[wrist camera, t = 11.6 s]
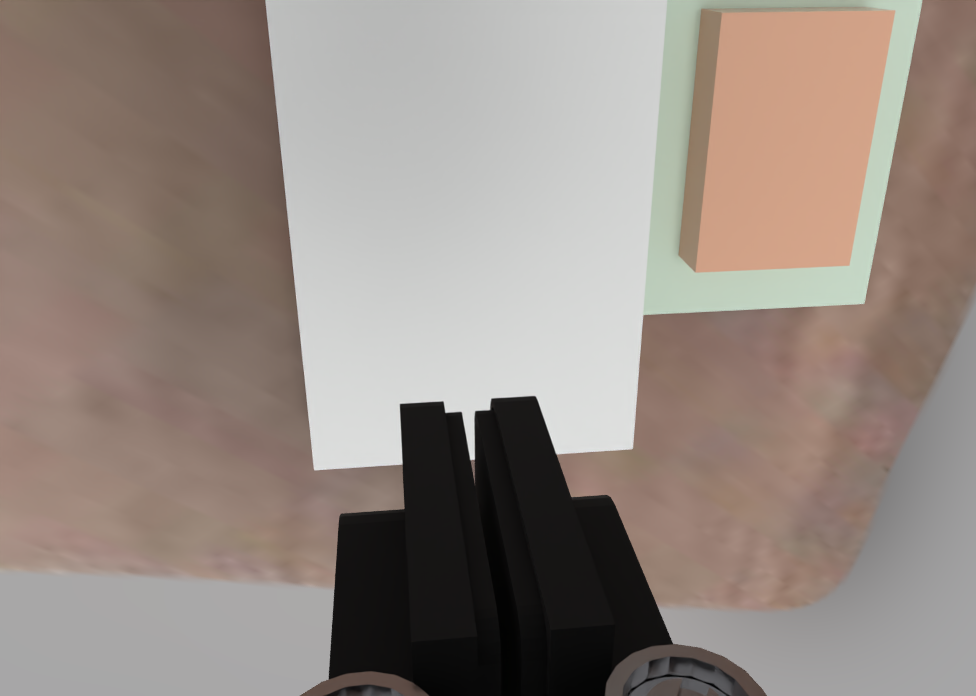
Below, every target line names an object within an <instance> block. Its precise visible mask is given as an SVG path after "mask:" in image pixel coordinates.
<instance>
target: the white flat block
mask: <svg viewBox="0 0 976 696" xmlns="http://www.w3.org/2000/svg"><path fill="white" fill-rule="evenodd" d="M265 1H266V11H267V21H268V30H269V40H270V49H271V59H272V69H273V78H274V88H275V98H276V107H277V117H278V126H279V136H280V146H281V155H282V165H283V175H284V184H285V194H286V203H287V213H288V223H289V232H290V242H291V252H292V261H293V271H294V281H295V290H296V300H297V309H298V319H299V329H300V338H301V348H302V358H303V367H304V377H305V386H306V396H307V406H308V415H309V425H310V435H311V444H312V454H313V463H314V470H325V469H340V468H355V467H370V466H386V465H401V464H402V443H401V422H400V404H404V403H421V402H438V401H444V407H445V413H448V412H462V416H463V421H464V427H465V433H466V438H467V444H468V449H469V455H470V460H475V435H474V416H475V411H482V410H490V403H491V399H492V398H507V397H524V396H536V398H537V400H538V403H539V406H540V408H541V411H542V414H543V417H544V420H545V423H546V426H547V429H548V432H549V435H550V437H551V440H552V443H553V446H554V449H555V452H556V454H566V453H581V452H596V451H611V450H627V449H633V439H634V426H635V413H636V400H637V387H638V375H639V362H640V349H641V336H642V323H643V310H644V297H645V284H646V271H647V258H648V245H649V232H650V219H651V206H652V193H653V180H654V167H655V154H656V141H657V128H658V115H659V102H660V89H661V76H662V63H663V50H664V37H665V24H666V11H667V0H265Z"/></svg>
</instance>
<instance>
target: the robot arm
mask: <svg viewBox="0 0 976 696" xmlns="http://www.w3.org/2000/svg"><path fill="white" fill-rule="evenodd" d="M400 422H401V443H402V464H403V484H404V505H405V509H402V510H388V511H374V512H360V513H345V514H341V515H340V518H339V528H338V543H337V559H336V574H335V590H334V606H333V622H332V636H331V637H332V638H331V651H330V667H329V680H326V681H323V682H321V683H320V684H318V685H316V686H315V687H313V688H312V689H310V690H308V691H307V692H305V693H304V694H302V695H300V696H767V695H766V694H765V692H764V691H763V689H762V688H761V687H760V686H759V685H758V684H757V683H756V682H755V681H754V680H753V678H752V677H751V676H749V674H748V673H747V672H746V671H745V670H743V669H742V668H740V667H739V666H737V665H736V664H734V663H733V662H731V661H730V660H728V659H727V658H725V657H723V656H720V655H718V654H715V653H713V652H710V651H707V650H704V649H702V648H698V647H691V646H684V645H677V644H673V643H672V641H671V638H670V636H669V633H668V631H667V629H666V626H665V624H664V621H663V619H662V616H661V614H660V612H659V609H658V607H657V604H656V602H655V600H654V597H653V595H652V592H651V590H650V588H649V585H648V583H647V580H646V578H645V576H644V573H643V571H642V569H641V566H640V564H639V561H638V559H637V557H636V554H635V552H634V549H633V547H632V545H631V542H630V540H629V537H628V535H627V533H626V530H625V528H624V525H623V523H622V521H621V518H620V516H619V513H618V511H617V509H616V506H615V504H614V502H613V501H612V499H611V497H609V496H608V495H599V496H585V497H571V495H570V492H569V489H568V487H567V484H566V481H565V478H564V475H563V472H562V469H561V466H560V463H559V461H558V458H557V455H556V452H555V449H554V446H553V443H552V440H551V437H550V435H549V432H548V429H547V426H546V423H545V420H544V417H543V414H542V411H541V408H540V406H539V403H538V400H537V398H536V396H524V397H507V398H492V399H491V403H490V410H482V411H475V416H474V435H475V483H474V478H473V472H472V466H471V461H470V455H469V449H468V444H467V438H466V433H465V427H464V421H463V416H462V412H448V413H445V407H444V401H438V402H421V403H404V404H400Z"/></svg>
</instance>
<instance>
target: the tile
mask: <svg viewBox="0 0 976 696" xmlns="http://www.w3.org/2000/svg"><path fill="white" fill-rule="evenodd" d="M894 16H895V10H888V9H880V8H872V7H794V8H715V9H701V17H700V28H699V39H698V50H697V60H696V71H695V82H694V93H693V104H692V114H691V125H690V136H689V147H688V158H687V168H686V179H685V190H684V201H683V212H682V223H681V233H680V244H679V256H680V257H681V258H682V259H683V260H684V262H685V263H686V264H687V265H688V266H689V267H690V268H691V269H692V270H693V271H694V272H695V273H700V272H722V271H744V270H766V269H789V268H811V267H833V266H849V265H850V260H851V254H852V249H853V243H854V237H855V232H856V226H857V221H858V215H859V210H860V204H861V199H862V193H863V188H864V182H865V176H866V171H867V165H868V160H869V154H870V149H871V143H872V138H873V132H874V127H875V121H876V116H877V110H878V104H879V99H880V93H881V88H882V82H883V77H884V71H885V66H886V60H887V55H888V49H889V43H890V38H891V32H892V27H893V21H894Z"/></svg>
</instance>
